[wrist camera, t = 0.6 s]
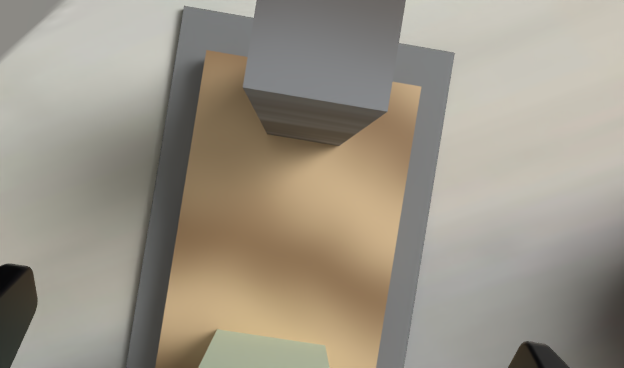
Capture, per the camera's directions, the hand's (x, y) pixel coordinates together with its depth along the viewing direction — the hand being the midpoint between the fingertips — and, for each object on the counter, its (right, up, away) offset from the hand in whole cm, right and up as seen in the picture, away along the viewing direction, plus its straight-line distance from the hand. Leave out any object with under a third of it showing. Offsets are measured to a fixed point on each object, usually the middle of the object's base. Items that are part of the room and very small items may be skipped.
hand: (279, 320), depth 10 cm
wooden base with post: (-1, -1, +14) cm, 14 cm away
